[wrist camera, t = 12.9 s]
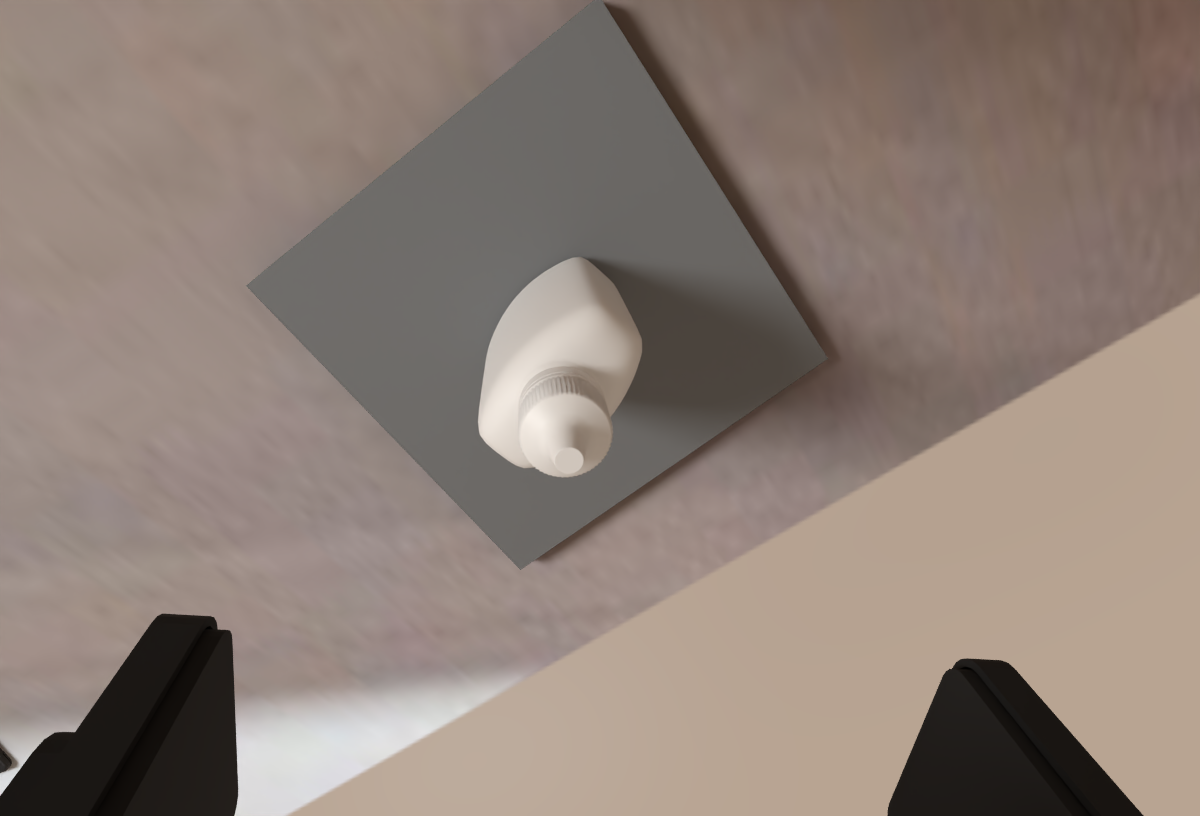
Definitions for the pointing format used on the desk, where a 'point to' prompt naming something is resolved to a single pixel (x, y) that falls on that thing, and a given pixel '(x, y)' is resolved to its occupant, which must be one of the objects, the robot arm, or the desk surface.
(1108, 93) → the desk surface
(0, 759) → the solid state drive
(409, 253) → the charcoal mat
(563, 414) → the eye dropper bottle
